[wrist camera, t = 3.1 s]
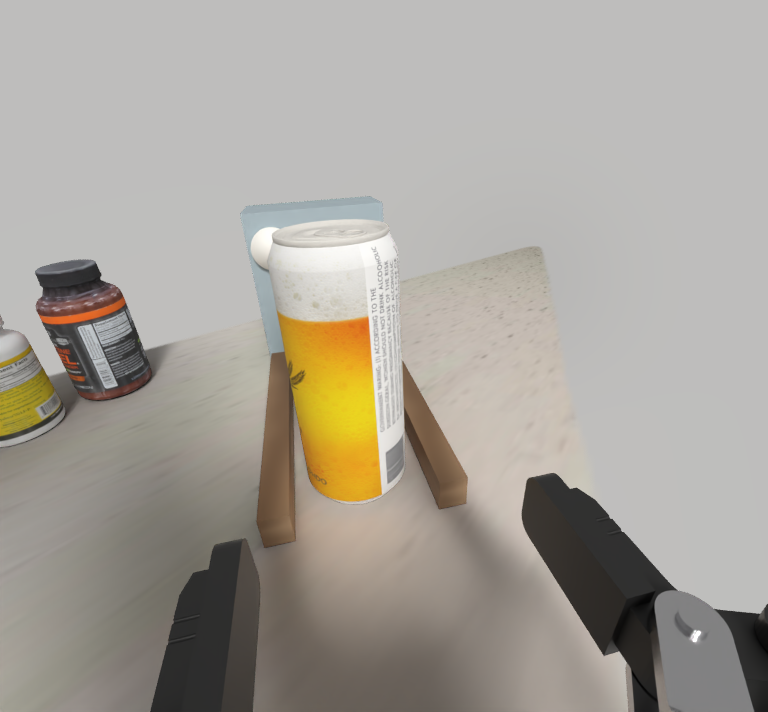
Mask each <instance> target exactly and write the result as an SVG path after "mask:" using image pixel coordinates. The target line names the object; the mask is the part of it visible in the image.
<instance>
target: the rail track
mask: <svg viewBox="0 0 768 712" xmlns="http://www.w3.org/2000/svg"><path fill="white" fill-rule="evenodd" d="M402 369H403V398H404V428H405V430H406V432H407V435H408V437H409V439H410V442H411V444H412V446H413V449H414V451H415V453H416V456H417V458H418V460H419V463H420V465H421V468H422V470H423V472H424V475H425V477H426V479H427V482H428V484H429V486H430V489H431V491H432V493H433V496H434V498H435V500H436V503H437V505H438V507H439V509H443V508H447V507H452V506H456V505H461V504H465V503H466V496H467V481H468V477H467V475H466V474H465V472H464V470H463V468H462V466H461V465H460V463H459V461H458V459H457V457H456V456H455V454H454V452H453V450H452V448H451V447H450V445H449V443H448V441H447V439H446V438H445V436H444V434H443V432H442V430H441V429H440V427H439V425H438V423H437V421H436V420H435V418H434V416H433V414H432V412H431V411H430V409H429V407H428V405H427V403H426V402H425V400H424V398H423V396H422V394H421V393H420V391H419V389H418V387H417V386H416V384H415V382H414V380H413V378H412V377H411V375H410V373H409V371H408V369H407V368H406V366H405V364H404V362H403V360H402ZM257 525H258V528H259V532H260V535H261V538H262V542H263V545H264V548H266V547H270V546H275V545H279V544H284V543H289V542H293V541H295V488H294V428H293V392H292V387H291V382H290V377H289V372H288V366H287V361H286V356H285V351H284V352H277V353H271V364H270V375H269V386H268V398H267V409H266V420H265V431H264V443H263V454H262V465H261V477H260V488H259V499H258V510H257Z"/></svg>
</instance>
